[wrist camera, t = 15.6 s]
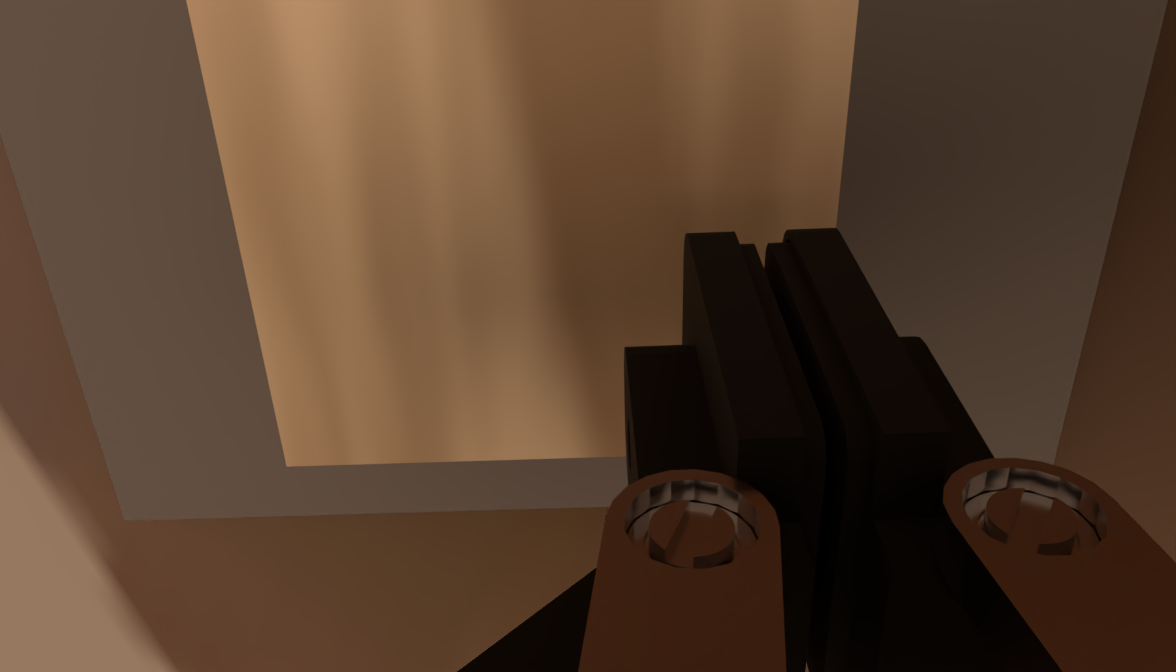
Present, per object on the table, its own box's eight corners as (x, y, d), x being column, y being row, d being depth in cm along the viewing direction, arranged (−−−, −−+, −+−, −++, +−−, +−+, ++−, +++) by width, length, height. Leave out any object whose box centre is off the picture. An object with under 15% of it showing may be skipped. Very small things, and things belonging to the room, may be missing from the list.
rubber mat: (1233, -369, 14) (1260, -374, 13) (1034, 474, 21) (1046, 493, 20) (-122, -328, 14) (-150, -331, 13) (136, 501, 21) (124, 520, 20)
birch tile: (862, -31, 12) (183, -10, 12) (813, 450, 16) (286, 467, 16) (809, -73, 15) (255, -56, 15) (777, 346, 18) (328, 359, 18)
